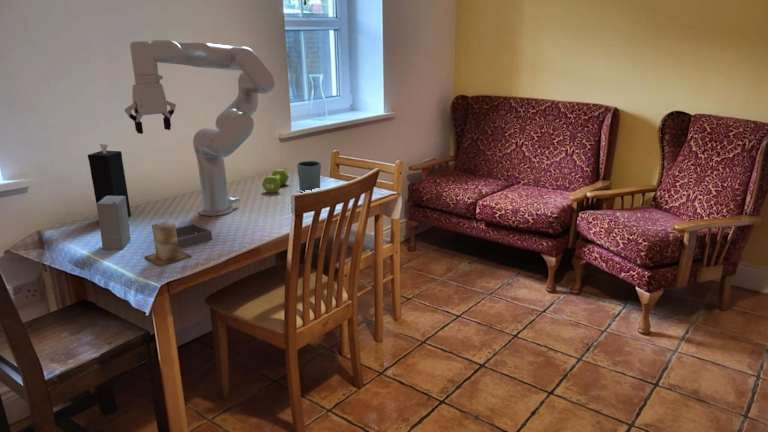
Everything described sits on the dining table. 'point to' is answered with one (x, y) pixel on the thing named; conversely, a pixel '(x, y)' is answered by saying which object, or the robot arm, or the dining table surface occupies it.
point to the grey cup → (309, 175)
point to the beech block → (165, 240)
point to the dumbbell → (275, 180)
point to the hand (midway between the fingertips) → (154, 131)
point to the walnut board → (162, 262)
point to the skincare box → (113, 222)
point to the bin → (200, 237)
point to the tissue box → (108, 175)
